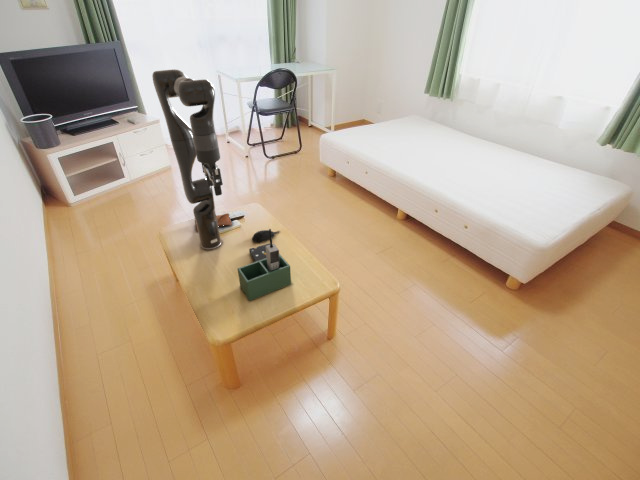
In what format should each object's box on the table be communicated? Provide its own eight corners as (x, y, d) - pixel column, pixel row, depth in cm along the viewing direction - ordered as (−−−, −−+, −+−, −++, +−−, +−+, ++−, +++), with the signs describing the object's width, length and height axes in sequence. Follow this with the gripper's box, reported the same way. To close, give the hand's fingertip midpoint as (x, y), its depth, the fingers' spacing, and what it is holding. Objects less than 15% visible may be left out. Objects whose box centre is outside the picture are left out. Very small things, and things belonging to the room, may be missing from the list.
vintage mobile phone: (272, 284, 137) (268, 234, 123) (268, 277, 141) (263, 227, 127) (281, 282, 139) (277, 231, 125) (276, 275, 142) (272, 225, 128)
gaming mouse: (282, 234, 169) (281, 228, 167) (256, 245, 161) (255, 238, 159) (275, 229, 173) (274, 222, 171) (249, 239, 165) (248, 232, 163)
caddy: (240, 286, 138) (237, 268, 132) (280, 271, 146) (279, 253, 140) (249, 301, 131) (246, 282, 126) (291, 284, 139) (290, 265, 134)
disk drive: (249, 253, 156) (259, 272, 145) (248, 248, 155) (258, 267, 144) (270, 247, 160) (281, 265, 149) (269, 243, 159) (281, 260, 148)
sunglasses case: (197, 232, 169) (194, 219, 168) (197, 232, 175) (194, 219, 175) (233, 225, 175) (230, 212, 174) (231, 225, 181) (228, 212, 181)
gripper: (224, 150, 108) (231, 195, 117) (211, 138, 118) (218, 180, 127) (201, 155, 105) (210, 201, 114) (189, 141, 115) (198, 185, 124)
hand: (214, 190), depth 121 cm, fingers open, 8 cm apart
